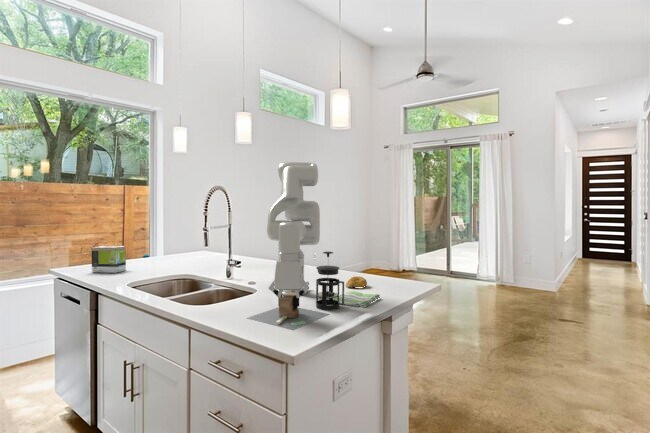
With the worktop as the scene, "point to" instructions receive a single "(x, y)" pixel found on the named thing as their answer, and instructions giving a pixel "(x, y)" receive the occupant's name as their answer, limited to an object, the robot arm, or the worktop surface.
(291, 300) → the knob
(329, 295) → the french press
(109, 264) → the tea box
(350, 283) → the bagel
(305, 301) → the worktop surface
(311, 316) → the dial plate
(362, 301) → the dish towel
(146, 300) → the worktop surface
